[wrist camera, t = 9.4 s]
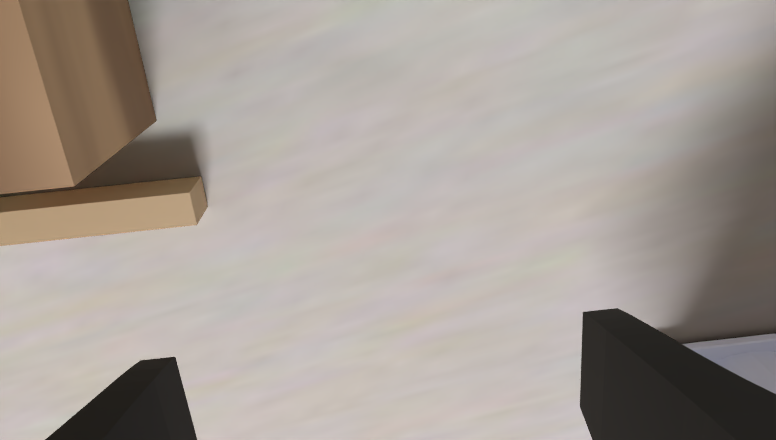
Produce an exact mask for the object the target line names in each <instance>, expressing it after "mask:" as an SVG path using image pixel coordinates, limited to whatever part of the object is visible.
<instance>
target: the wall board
mask: <svg viewBox="0 0 776 440" xmlns="http://www.w3.org/2000/svg"><path fill="white" fill-rule="evenodd" d="M207 207H208V206H207V201H206V196H205V192H204V187H203V183H202V178H201V176H198V177H189V178H179V179H170V180H160V181H151V182H141V183H131V184H122V185H112V186H103V187H93V188H84V189H74V190H65V191H55V192H46V193H36V194H27V195H17V196H7V197H0V246H4V245H14V244H23V243H32V242H42V241H51V240H60V239H70V238H79V237H89V236H98V235H107V234H117V233H126V232H135V231H145V230H154V229H163V228H173V227H182V226H192V225H197V224H198V222H199V221H200V219H201V217H202V215H203V214H204V212H205V210H206V209H207Z"/></svg>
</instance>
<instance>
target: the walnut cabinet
mask: <svg viewBox="0 0 776 440" xmlns="http://www.w3.org/2000/svg"><path fill="white" fill-rule="evenodd" d="M154 122H156V117H155V113H154V108H153V104H152V100H151V96H150V92H149V87H148V83H147V79H146V75H145V70H144V66H143V62H142V58H141V54H140V49H139V45H138V41H137V37H136V33H135V28H134V24H133V20H132V16H131V12H130V7H129V3H128V0H0V194H7V193H16V192H26V191H35V190H45V189H54V188H64V187H73V186H76V185H77V184H78V183H79V182H81V181H82V180H83V179H84V178H86V177H87V176H88V175H89V174H91V173H92V172H93V171H94V170H96V169H97V168H98V167H99V166H101V165H102V164H103V163H104V162H106V161H107V160H108V159H109V158H111V157H112V156H113V155H114V154H116V153H117V152H118V151H119V150H121V149H122V148H123V147H124V146H126V145H127V144H128V143H129V142H131V141H132V140H133V139H134V138H136V137H137V136H138V135H139V134H141V133H142V132H143V131H144V130H146V129H147V128H148V127H149V126H151V125H152V124H153V123H154Z"/></svg>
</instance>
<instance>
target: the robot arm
mask: <svg viewBox="0 0 776 440" xmlns="http://www.w3.org/2000/svg"><path fill="white" fill-rule="evenodd" d="M580 408H581V410H582V413H583V416H584V418H585V421H586V424H587V426H588V429H589V432H590V434H591V437H592V439H593V440H776V333H774V334H765V335H757V336H748V337H739V338H730V339H722V340H713V341H704V342H695V343H687V344H681V343H679V342H677V341H675V340H674V339H672V338H670V337H668V336H667V335H665V334H663V333H662V332H660V331H658V330H656V329H655V328H653V327H651V326H649V325H648V324H646V323H644V322H642V321H641V320H639V319H637V318H635V317H633V316H632V315H630V314H628V313H626V312H624V311H622V310H620V309H618V308H616V309H607V310H598V311H589V312H583V329H582V360H581V391H580ZM45 440H197V438H196V434H195V430H194V426H193V422H192V419H191V415H190V411H189V407H188V403H187V400H186V396H185V392H184V388H183V385H182V381H181V377H180V373H179V369H178V366H177V362H176V358H175V357H169V358H160V359H151V360H141V361H139V362H138V363H136V364H135V365H134V366H132V367H131V368H130V369H129V370H127V371H126V372H125V373H124V374H122V375H121V376H120V377H119V378H117V379H116V380H115V381H114V382H113V383H112V384H110V385H109V386H108V387H107V388H106V389H104V390H103V391H102V392H101V393H100V394H99V395H97V396H96V397H95V398H94V399H93V400H92V401H91V402H89V403H88V404H87V405H86V406H85V407H83V408H82V409H81V410H80V411H79V412H78V413H76V414H75V415H74V416H73V417H72V418H70V419H69V420H68V421H67V422H66V423H65V424H63V425H62V426H61V427H60V428H59V429H57V430H56V431H55V432H54V433H53V434H52V435H50V436H49V437H48V438H47V439H45Z"/></svg>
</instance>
